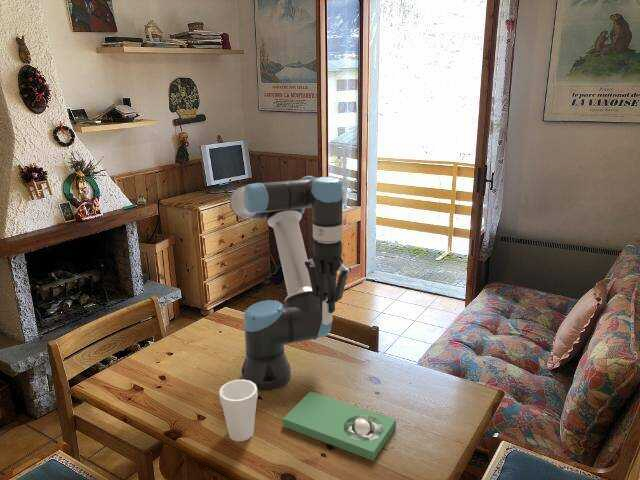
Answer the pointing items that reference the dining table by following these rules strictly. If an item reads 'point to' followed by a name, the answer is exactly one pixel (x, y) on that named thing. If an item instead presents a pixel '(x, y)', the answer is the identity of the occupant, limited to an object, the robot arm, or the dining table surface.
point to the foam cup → (239, 408)
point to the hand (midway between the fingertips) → (327, 322)
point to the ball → (362, 427)
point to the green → (339, 424)
